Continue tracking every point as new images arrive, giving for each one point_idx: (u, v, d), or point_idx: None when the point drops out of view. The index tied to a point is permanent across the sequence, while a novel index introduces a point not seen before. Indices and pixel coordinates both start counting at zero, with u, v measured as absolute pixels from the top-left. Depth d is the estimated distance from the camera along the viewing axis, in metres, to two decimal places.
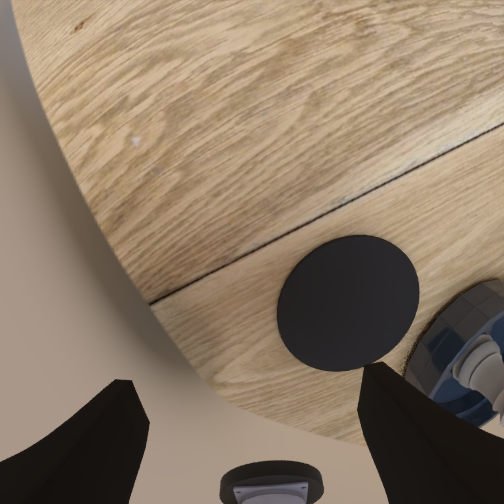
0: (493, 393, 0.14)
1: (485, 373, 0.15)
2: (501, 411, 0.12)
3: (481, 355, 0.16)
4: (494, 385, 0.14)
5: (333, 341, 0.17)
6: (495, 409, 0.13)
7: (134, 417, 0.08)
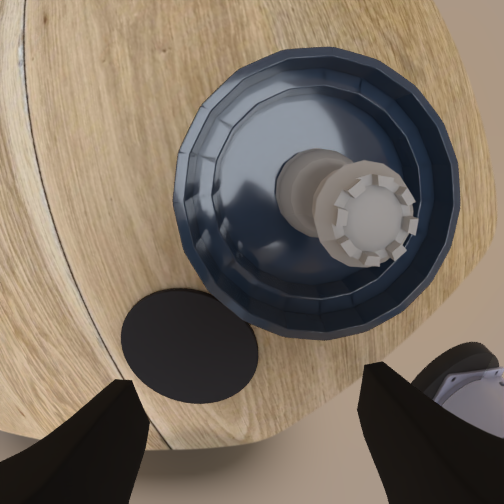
0: None
1: (310, 221, 0.12)
2: None
3: (290, 209, 0.14)
4: None
5: (215, 373, 0.19)
6: None
7: (134, 417, 0.08)
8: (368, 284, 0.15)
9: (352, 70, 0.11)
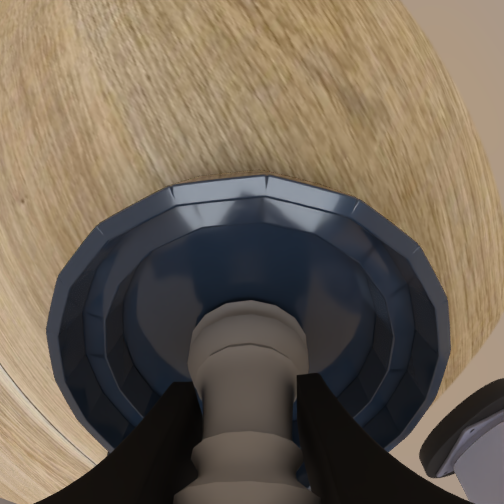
0: None
1: None
2: None
3: None
4: None
5: None
6: None
7: (195, 420, 0.08)
8: None
9: None
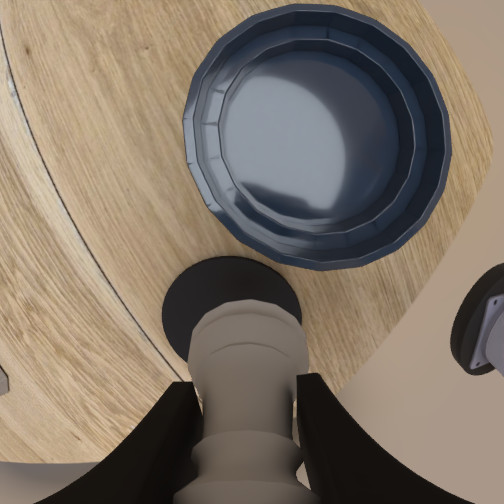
0: None
1: None
2: None
3: None
4: None
5: None
6: None
7: (195, 420, 0.08)
8: (387, 208, 0.15)
9: (316, 20, 0.11)
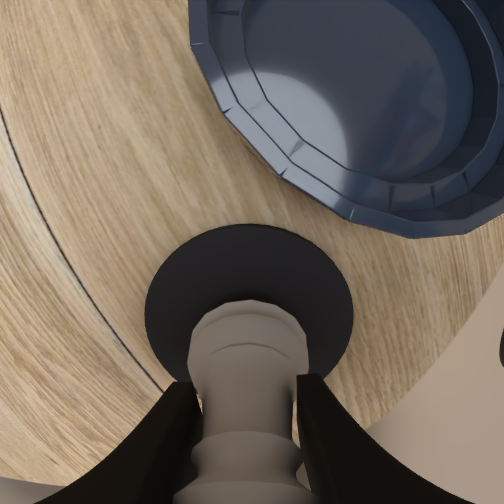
0: None
1: None
2: None
3: None
4: None
5: None
6: None
7: (195, 420, 0.08)
8: (477, 156, 0.09)
9: None
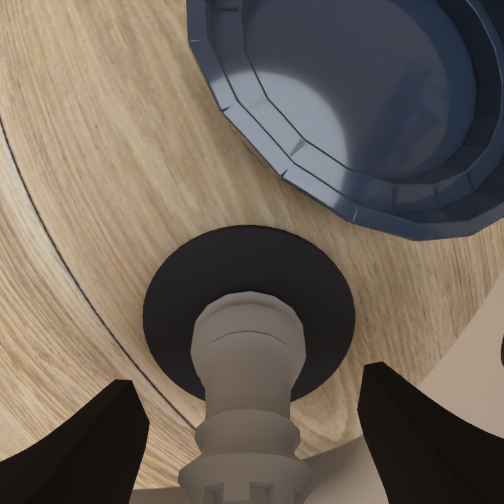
0: None
1: None
2: None
3: None
4: None
5: None
6: None
7: (134, 417, 0.08)
8: (481, 156, 0.08)
9: None
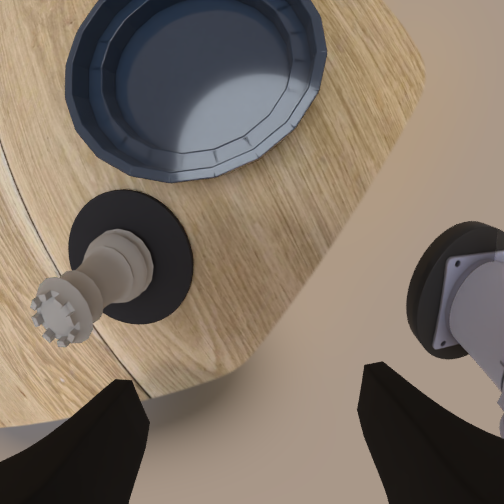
0: None
1: None
2: None
3: None
4: None
5: (154, 278, 0.18)
6: (95, 317, 0.13)
7: (134, 417, 0.08)
8: (261, 123, 0.14)
9: None
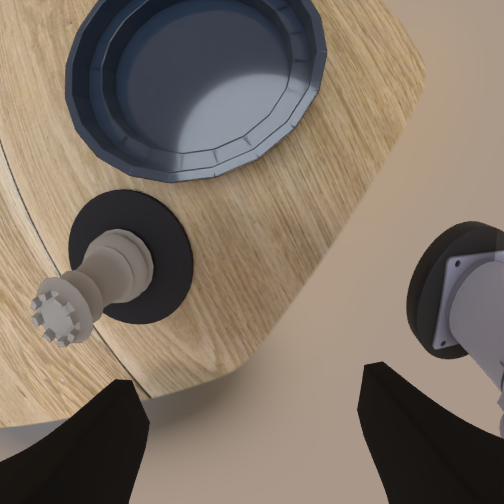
0: None
1: None
2: None
3: None
4: None
5: (154, 278, 0.18)
6: (95, 317, 0.13)
7: (134, 417, 0.08)
8: (261, 123, 0.14)
9: None
